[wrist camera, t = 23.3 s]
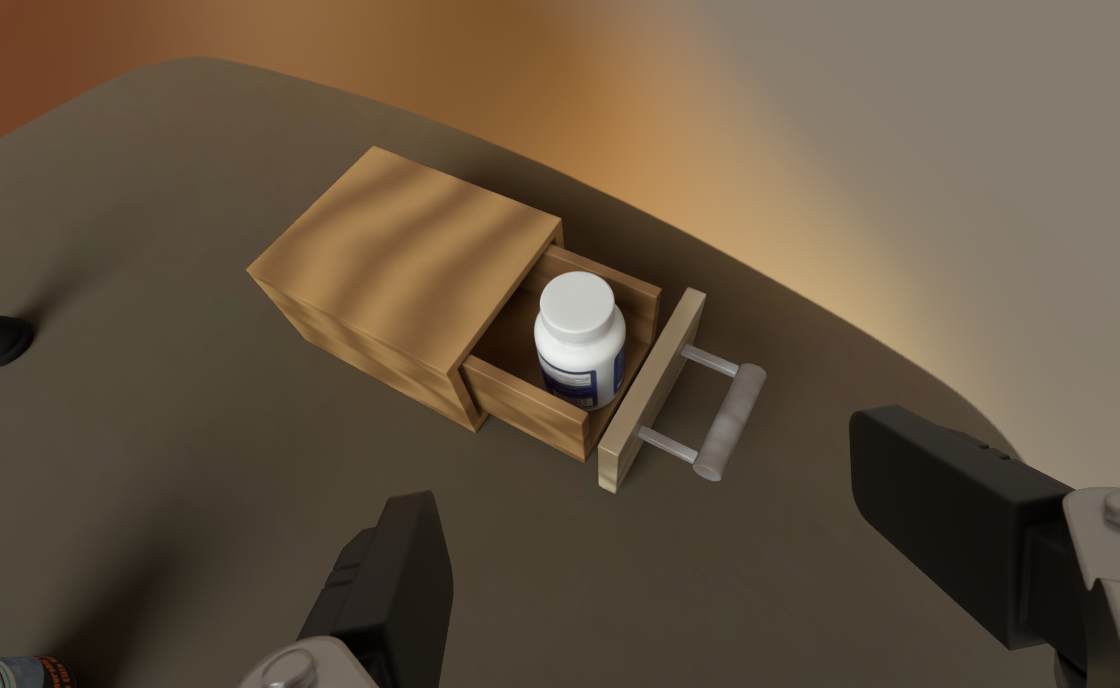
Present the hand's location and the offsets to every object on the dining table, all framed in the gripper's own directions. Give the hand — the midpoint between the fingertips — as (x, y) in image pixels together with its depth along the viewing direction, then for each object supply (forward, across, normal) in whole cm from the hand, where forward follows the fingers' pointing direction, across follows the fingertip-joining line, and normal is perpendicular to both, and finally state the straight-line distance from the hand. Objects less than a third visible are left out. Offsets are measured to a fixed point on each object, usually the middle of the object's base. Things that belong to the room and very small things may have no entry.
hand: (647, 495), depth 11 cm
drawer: (+27, -1, +7) cm, 28 cm away
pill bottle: (+27, -1, +6) cm, 27 cm away
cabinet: (+34, +9, +2) cm, 35 cm away
